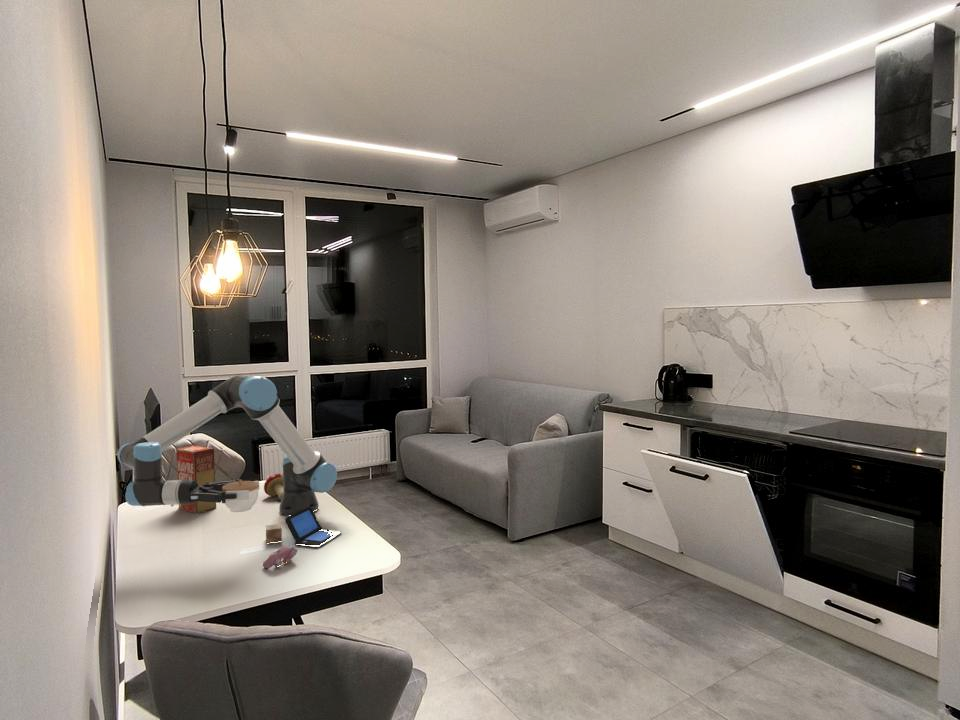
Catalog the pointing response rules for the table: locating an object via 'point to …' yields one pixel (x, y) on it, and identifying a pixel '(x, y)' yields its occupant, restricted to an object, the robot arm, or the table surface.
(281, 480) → the decorative mushroom
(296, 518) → the handheld game console
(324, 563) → the table surface
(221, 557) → the table surface
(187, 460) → the food packaging
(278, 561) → the video game controller
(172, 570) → the table surface
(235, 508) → the lidded jar
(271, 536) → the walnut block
